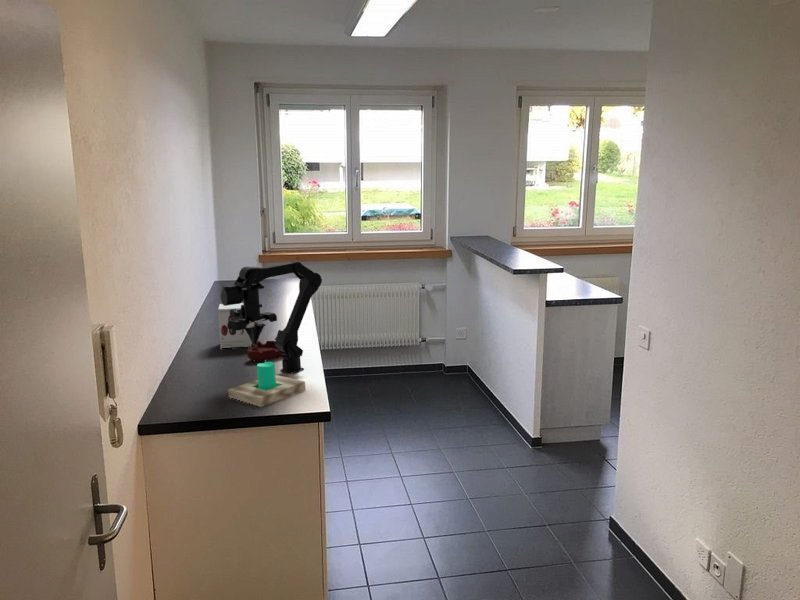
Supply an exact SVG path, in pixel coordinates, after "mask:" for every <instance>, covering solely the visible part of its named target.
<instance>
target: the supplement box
mask: <svg viewBox="0 0 800 600" xmlns="http://www.w3.org/2000/svg"><path fill="white" fill-rule="evenodd" d="M241 305H243V302H241V303H240V304H234V305H227V306H224V305H223V304H222V303H219V304H218V309H217V313H218V317H217V318H218V329H219V347H220V348H219V349H220V350H223V349H222V348H231V347H240V346H250V345H251V344H252V342H251V339H250V337H249V335H248V333H247V331H246V330H245V329H242V330H232V329H228V326H227V323H228V322H229V321H231V320H235V318H231V317H230V310H231V309H235V308H236V309H237V310H240V309H241ZM239 320H245V319H239ZM249 322H251V321H249ZM260 339H261V335H260V336H259V338H258V340H257V341H260ZM261 340H262V339H261Z"/></svg>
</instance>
